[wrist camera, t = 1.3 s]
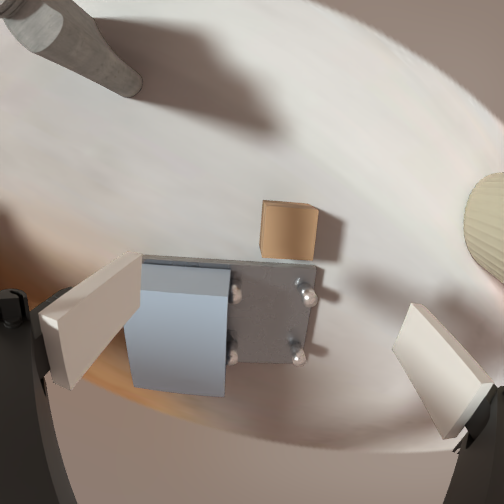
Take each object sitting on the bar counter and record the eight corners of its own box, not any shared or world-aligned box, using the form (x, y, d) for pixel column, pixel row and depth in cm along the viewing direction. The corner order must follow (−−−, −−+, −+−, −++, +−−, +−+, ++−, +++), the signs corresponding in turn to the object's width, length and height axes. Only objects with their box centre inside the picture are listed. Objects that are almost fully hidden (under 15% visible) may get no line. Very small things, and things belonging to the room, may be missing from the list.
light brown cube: (259, 244, 34) (262, 257, 29) (262, 199, 32) (266, 205, 28) (302, 247, 34) (312, 260, 29) (307, 203, 33) (318, 210, 28)
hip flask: (147, 84, 28) (50, 11, 9) (120, 108, 29) (3, 63, 9) (89, 13, 24) (5, -54, 5) (66, 34, 25) (-28, -20, 6)
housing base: (149, 347, 37) (140, 367, 33) (142, 254, 33) (129, 266, 29) (298, 356, 38) (304, 377, 34) (313, 264, 34) (323, 278, 30)
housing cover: (149, 352, 35) (134, 386, 28) (141, 263, 32) (119, 287, 25) (226, 359, 36) (224, 397, 29) (230, 269, 32) (227, 296, 26)
